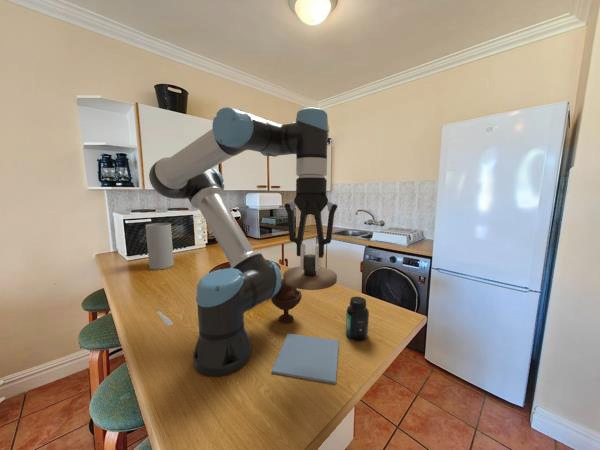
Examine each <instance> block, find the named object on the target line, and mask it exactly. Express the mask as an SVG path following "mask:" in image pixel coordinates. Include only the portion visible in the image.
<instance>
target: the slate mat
mask: <svg viewBox="0 0 600 450" xmlns="http://www.w3.org/2000/svg"><path fill="white" fill-rule="evenodd" d="M283 341H284V342H283V344H282V347H281V348H280V351H279V353H278V355H277V358H276V360H275V362H274V364H273V367H272V368H271V374H276V375H281V376H288V377H293V378H300V379H305V380H309V381H315V382H323V383H327V384H333V385H336V384H337V383H336V382H337V372H338V371H337V370H338V358H339V345H340V340H337V339H331V338H323V337H317V336H307V335H303V334H293V333H287V334H286V337H285V339H284V340H283Z"/></svg>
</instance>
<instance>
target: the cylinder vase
mask: <svg viewBox="0 0 600 450" xmlns="http://www.w3.org/2000/svg"><path fill="white" fill-rule="evenodd" d="M145 234H146V235H145V236H146V244H147V245H146V246H147V247H146V248H147V255H148V267H149V269H150V270H155V271H157V270H166V269H170V268H171V267H173V266H174V265H175V261H174V248H173V234H172V223H171V222H170V223H169V222H156V223H147V224H145Z"/></svg>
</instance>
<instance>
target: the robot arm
mask: <svg viewBox="0 0 600 450" xmlns="http://www.w3.org/2000/svg"><path fill="white" fill-rule="evenodd" d="M328 119H329V118H328V113H327V112H326V111H325V110H323V109H322V108H318V107H306V108H301V109H299V110H298V111H297V113H296V118H295V121H293V122H289V123H282V124H279V123H276V122H274V121H271V120H267V119H265V118H262V117H259V116H257V115H254V114H251V113H250V112H249V113H248V112H246V111H244V110H242V109H238V108H237V109H236V108H233V107H229V106H228V107H225V106H224V107H222V108H220V109H219V110H218V111H216V116H215V117H214V118H213V120H212V129H210V130H209V131H207V132H205V133H204V134H203V135H201V136H199V137H197V138H196V139H195V140H194V141H192V142H191V143H189V144H188V145H186V146H185V147H184V148H182V149H180V150H179V151H177V152H176V153H175V154H173V155H171V156H165V157H162V158H160V159H159V160H157V161H156V162H155V163H154V164H153V165H152V166H151V168H150V169H149V173H148V179H149V182H150V185H151V187H152V188H153V189H154V190H155V191H156V192H157V193H158V194H159V195H161V196H163V197H165V198H168V199H175V200H176V199H180V200H181V199H183V200H185V199H186V200H189V202H190V204H191V206H192V207H193V208H195V209H198V210H199V212H200V213H201V214H202V216H203V218H204V220H205V222H206V223H207V226H208V227H209V229H210V231H211V233H212V234H213V236H214V237H215V240H216V241H217V243H218V246H219V247H220V248H221V250H222V252H223V253H224V256H225V258H226V259H227V261H228V263H229V264H230V267H228V268H223V269H216V270H214V271H211V272H209V273H207V274H205V275H204V276H202V277H201V278H200V280H199V281H198V283H197V285H196V297H195V300H196V303H197V305H196V306H197V319H198V320H197V321H198V332H199V333H198V336H197V337H198V338H197V340H196V344H195V347H194V350H193V356H192V357H193V367H194V369H195V371H197V372H198V373H199V374H200V375H203V376H206V377H216V378H217V377H223V376H227V375H229V374H232V373H235V372H237V371H238V370H240V369H242V368H243V367H244V366H245V365H247V363H248V361H249V360H250V358H251V356H252V343H251V340H250V337H249V335H248V333H247V332H248V331H247V330H246V328H245V313H246V312H248V311H249V310H251V309H253V308H255V307H257V306H258V305H259V306H260V304H262V303H264V302H266V301H269V300H271V298H272V297H273V296H274V295H276V294H277V293H278V291H279V290H280V288H281V282H282V279H283V278H282V277H283V275H282V272H281V270H280V267H279V266H278V265H277V263H275V262H274V261H272V260H268V259H267V260H266V259H265V257H264V255H263V254H262V253H261V252H257V251H255V250H254V248H253V246H252V244H251V243H250V242H249V240H248V238H247V236H246V235H245V233H244V232H243V230H242V228H241V227H240V225H239V223H238V222H237V220H236V218H235V217H234V215H233V213H232V212H231V210H230V208H229V207H228V205H227V203H226V201H225V200H224V198H223V197H224V189H225V183H224V178H223V175H222V174H221V172H220V171H219V170H218V169H216V168H215V167H217V166H218V165H221V164H222V163H224V162H225V161H228V160H229V159H231V158H233V157H236V156H237V155H239V154H242V153H243V152H245V151H253V152H259V153H260V154H261V155H263V156H264V157H278V156H286V155H287V156H288V155H289V156H290V155H296V157H295V158H296V160H295V162H296V164H295V165H296V166H295V167H296V168H295V169H296V170H295V171H296V172H295V175H296V176H297V178H296V180H295V182H296V183H295V188H296V189H295V197H294V200H293V201H291V202H287V203H285V204H284V208H285V210H286V213H287V224H288V225H287V226H288V236H289V238H288V240H289V241H290V242H291V243H295V244H296V256H297V257H300V258H299V259H300V264H299V265H300V266H299V267H300V270H303V269H304V256H305V255H306V243H305V242H304V235H305V229H306V223H307V218H308V216H309V215H312V216H314V221H315V228H316V234H317V235H316V236H317V241H318V243H316V244H315V254H314V255H315V271H318V270H319V267H320V265H321V263H320V259H321V258H323V257H324V255H325V245H328V244H330V243H332V239H333V238H332V237H333V229H334V219H335V213H336V211H337V209H338V204H337V203H332V202H331V201H329V198H328V196H327V184H328V183H327V178H325V177H326V176H328V139H329V138H328V137H329V136H328V135H329V126H328V125H329V123H328V121H329V120H328ZM326 206H327V211H328V216H327V217H328V218H327V219H328V220H327V227H326V234H325V235H326V237H324V228H323V222H322V211H323V210H324V209H325V208H326ZM296 207H297V209H298V210H299V212H300V216H299V223H298V230H297V231H296V217H295V209H296Z"/></svg>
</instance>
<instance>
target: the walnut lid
mask: <svg viewBox="0 0 600 450" xmlns="http://www.w3.org/2000/svg"><path fill="white" fill-rule="evenodd" d="M282 277H283V278H282V279H283V281H284V282H285V283H286V284H287V285H289V286H291V287H294V288H297V289H296V290H298V289H299V290H303V291H304V290H305V291H320V290H324V289H328V288H331V287H333V286H335V285H336V284H337V280H338V275H337V273H336V272H335V271H333V270H331V269H329V268H327V267H322V266H319V270H318V271H315V254H309V253H308V254H305V256H304V269H303V270H300V266H296V267H295V266H294V267H292V268H288V269H287V270H285V271H284V272H283V275H282Z"/></svg>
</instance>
